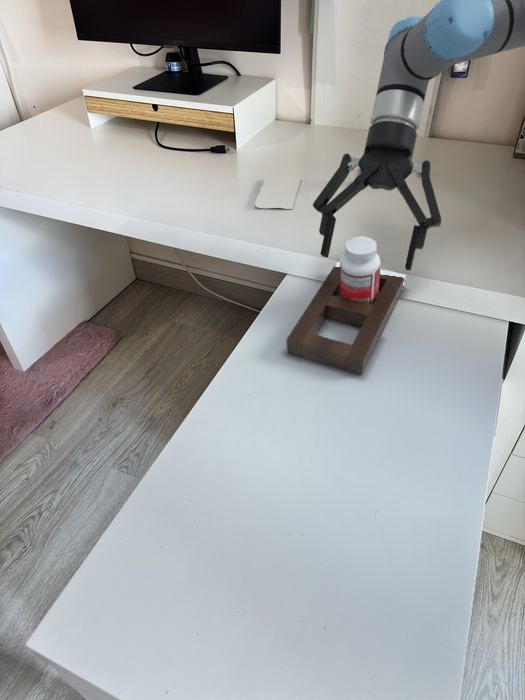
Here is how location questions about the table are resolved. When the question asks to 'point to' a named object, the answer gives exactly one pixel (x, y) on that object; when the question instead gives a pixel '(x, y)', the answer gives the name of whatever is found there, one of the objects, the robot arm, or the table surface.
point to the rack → (347, 312)
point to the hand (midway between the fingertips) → (364, 262)
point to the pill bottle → (360, 270)
